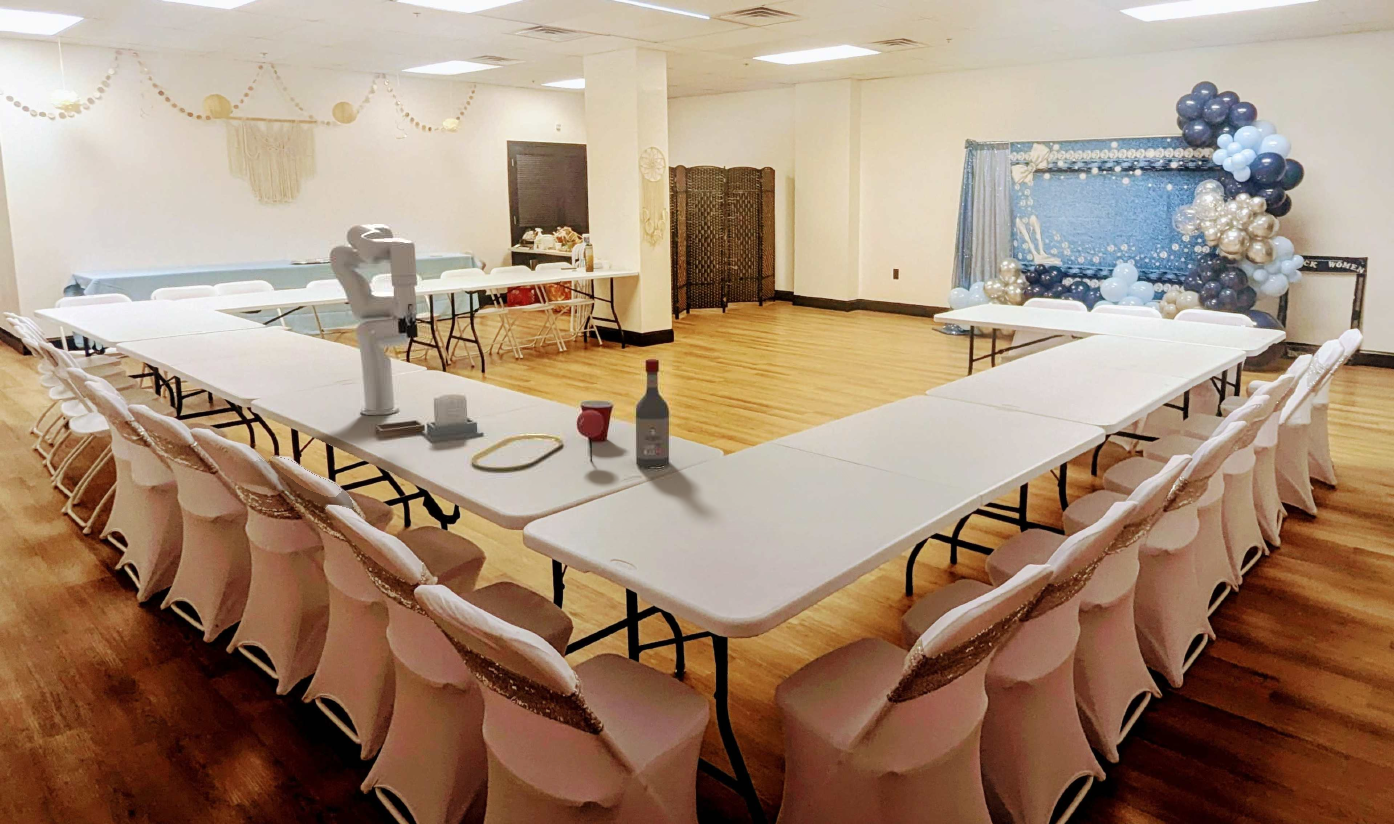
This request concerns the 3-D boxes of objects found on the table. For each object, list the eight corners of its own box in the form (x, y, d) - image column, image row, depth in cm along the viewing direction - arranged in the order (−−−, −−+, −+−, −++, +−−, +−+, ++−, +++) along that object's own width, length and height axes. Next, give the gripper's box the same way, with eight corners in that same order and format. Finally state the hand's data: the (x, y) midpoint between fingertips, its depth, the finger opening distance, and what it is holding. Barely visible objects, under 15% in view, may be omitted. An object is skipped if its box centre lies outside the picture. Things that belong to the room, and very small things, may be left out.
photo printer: (465, 427, 290) (463, 390, 287) (469, 430, 287) (467, 392, 284) (433, 432, 285) (431, 393, 282) (437, 435, 281) (435, 396, 278)
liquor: (669, 468, 254) (669, 363, 247) (636, 468, 253) (635, 363, 246) (667, 458, 263) (667, 357, 255) (636, 459, 262) (635, 357, 255)
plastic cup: (620, 436, 286) (620, 399, 283) (606, 445, 276) (605, 407, 273) (589, 433, 289) (588, 396, 286) (574, 441, 279) (573, 404, 276)
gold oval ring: (573, 442, 280) (573, 437, 280) (519, 475, 248) (518, 469, 248) (518, 436, 286) (518, 432, 285) (458, 468, 253) (458, 463, 253)
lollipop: (578, 457, 263) (576, 407, 259) (604, 457, 264) (603, 407, 260) (577, 465, 256) (575, 414, 252) (604, 465, 256) (603, 413, 253)
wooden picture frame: (375, 432, 287) (374, 425, 286) (418, 427, 294) (417, 419, 293) (381, 438, 281) (380, 430, 280) (425, 432, 288) (424, 425, 287)
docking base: (421, 433, 287) (420, 421, 286) (470, 427, 295) (470, 415, 294) (432, 442, 277) (432, 430, 276) (483, 435, 285) (482, 423, 284)
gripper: (384, 279, 287) (388, 332, 291) (399, 284, 273) (403, 340, 277) (408, 278, 291) (412, 330, 295) (424, 283, 276) (428, 338, 281)
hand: (408, 335), depth 286 cm, fingers open, 9 cm apart
